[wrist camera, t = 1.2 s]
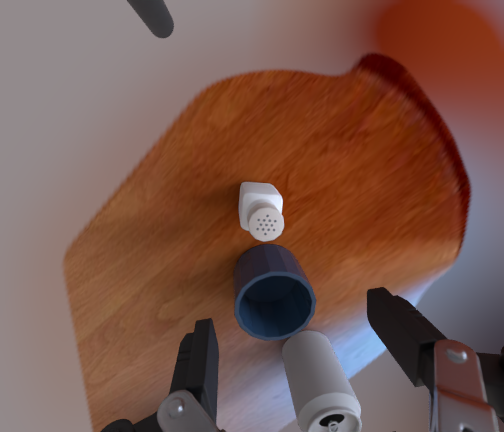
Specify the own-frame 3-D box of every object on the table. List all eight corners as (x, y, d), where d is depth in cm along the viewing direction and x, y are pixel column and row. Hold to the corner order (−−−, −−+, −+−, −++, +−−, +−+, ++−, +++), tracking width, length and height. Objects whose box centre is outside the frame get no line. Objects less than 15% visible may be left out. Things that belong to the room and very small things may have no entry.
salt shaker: (240, 180, 31) (245, 201, 22) (273, 182, 31) (292, 204, 22) (237, 212, 32) (241, 244, 23) (269, 214, 32) (285, 247, 23)
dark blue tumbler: (222, 290, 35) (221, 327, 29) (250, 233, 33) (256, 259, 26) (280, 310, 37) (292, 349, 31) (311, 258, 35) (330, 288, 28)
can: (324, 320, 38) (365, 400, 27) (331, 357, 41) (371, 445, 30) (275, 333, 38) (296, 418, 27) (285, 370, 41) (307, 462, 29)
